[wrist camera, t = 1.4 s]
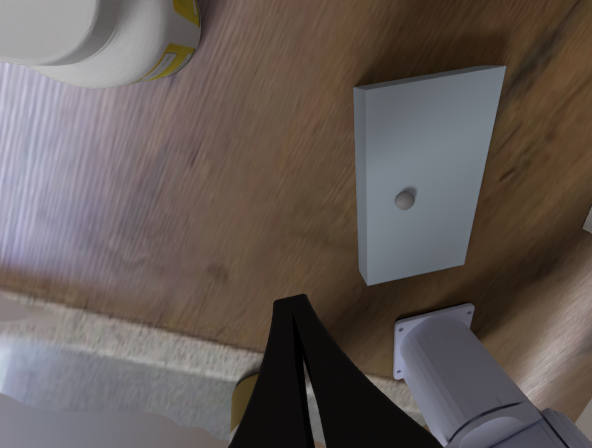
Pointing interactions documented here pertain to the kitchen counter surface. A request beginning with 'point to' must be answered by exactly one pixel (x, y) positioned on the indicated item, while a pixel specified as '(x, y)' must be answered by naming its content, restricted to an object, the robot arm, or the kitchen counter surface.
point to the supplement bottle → (100, 39)
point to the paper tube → (241, 401)
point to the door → (421, 168)
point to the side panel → (588, 222)
